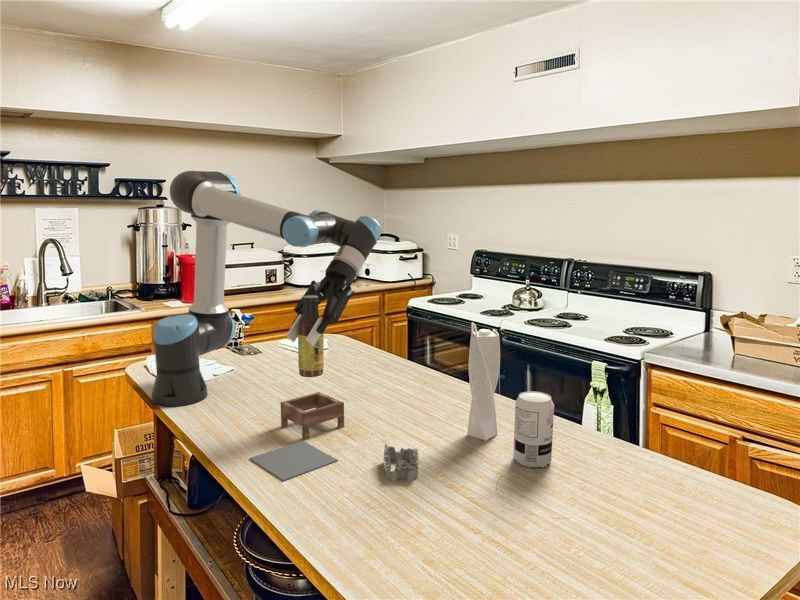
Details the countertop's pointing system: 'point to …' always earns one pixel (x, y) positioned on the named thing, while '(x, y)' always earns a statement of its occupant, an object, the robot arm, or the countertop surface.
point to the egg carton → (401, 463)
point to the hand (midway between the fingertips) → (299, 340)
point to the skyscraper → (483, 382)
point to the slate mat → (293, 460)
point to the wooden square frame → (311, 411)
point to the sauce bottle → (307, 354)
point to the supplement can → (533, 429)
